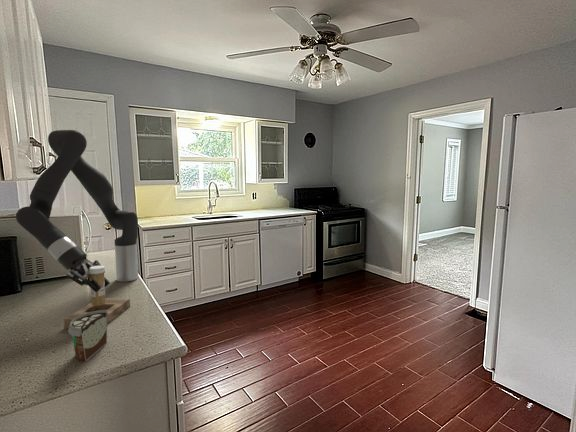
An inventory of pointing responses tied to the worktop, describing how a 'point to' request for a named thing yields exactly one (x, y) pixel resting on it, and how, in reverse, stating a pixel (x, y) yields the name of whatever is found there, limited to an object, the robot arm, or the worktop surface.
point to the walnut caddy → (111, 305)
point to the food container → (89, 333)
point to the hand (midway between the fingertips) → (103, 287)
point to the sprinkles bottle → (98, 277)
